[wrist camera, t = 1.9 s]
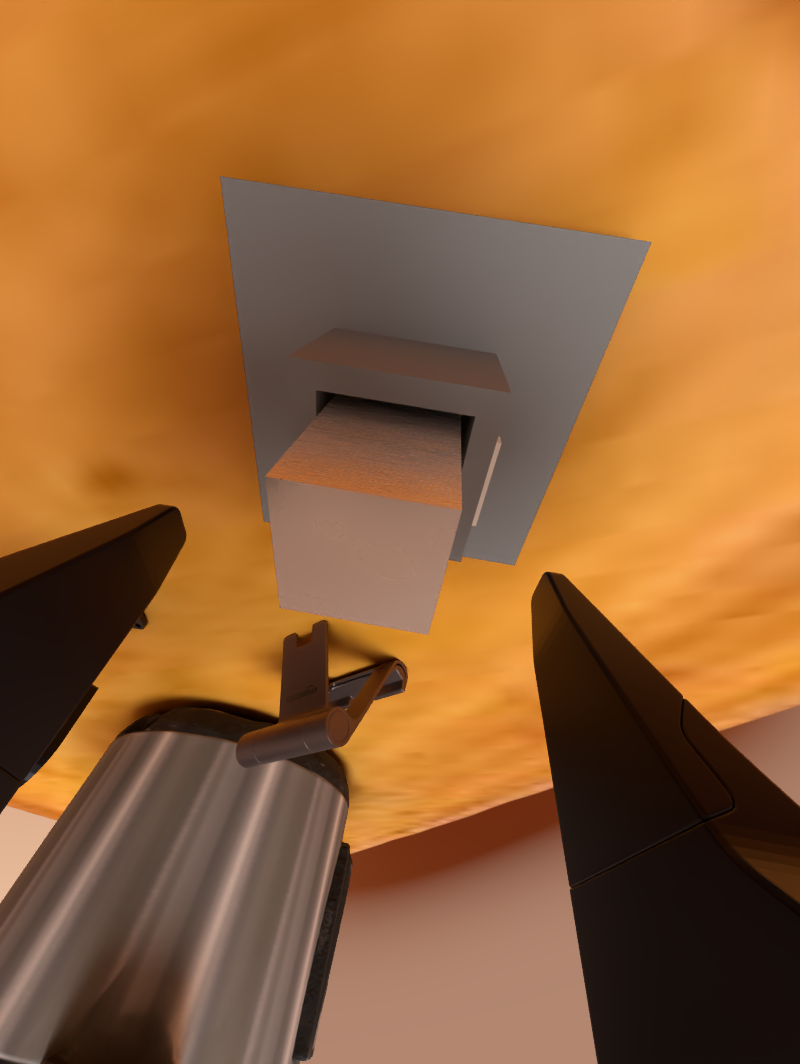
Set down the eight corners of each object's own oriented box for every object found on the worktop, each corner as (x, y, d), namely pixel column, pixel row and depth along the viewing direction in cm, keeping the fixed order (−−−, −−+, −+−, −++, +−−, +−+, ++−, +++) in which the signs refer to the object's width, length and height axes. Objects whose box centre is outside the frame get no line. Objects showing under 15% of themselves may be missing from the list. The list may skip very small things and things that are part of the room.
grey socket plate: (511, 548, 21) (527, 641, 16) (274, 506, 22) (217, 585, 17) (633, 242, 13) (750, 236, 8) (241, 183, 13) (103, 138, 8)
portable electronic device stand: (331, 692, 34) (300, 799, 27) (267, 644, 31) (214, 753, 24) (409, 667, 30) (394, 784, 23) (344, 609, 27) (307, 727, 20)
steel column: (442, 470, 17) (429, 636, 10) (355, 456, 17) (277, 608, 10) (461, 379, 15) (465, 508, 7) (360, 363, 15) (262, 473, 7)
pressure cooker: (252, 808, 58) (94, 1237, 33) (84, 721, 45) (-386, 1310, 20) (415, 791, 45) (361, 1463, 20) (244, 664, 33) (-468, 2035, 8)
